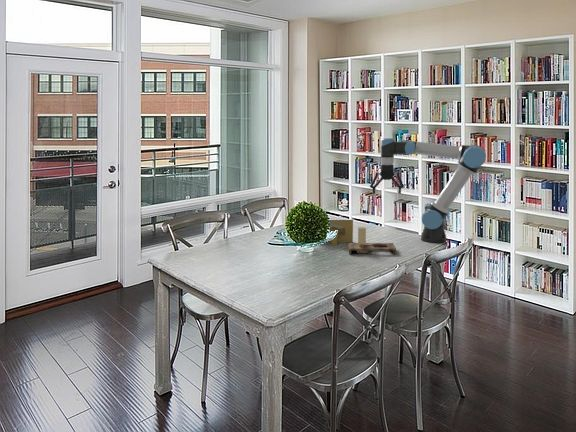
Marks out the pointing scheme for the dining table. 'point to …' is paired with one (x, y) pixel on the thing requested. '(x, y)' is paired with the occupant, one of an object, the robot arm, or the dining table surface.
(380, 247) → the keyhole plate
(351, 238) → the cardboard box
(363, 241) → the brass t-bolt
